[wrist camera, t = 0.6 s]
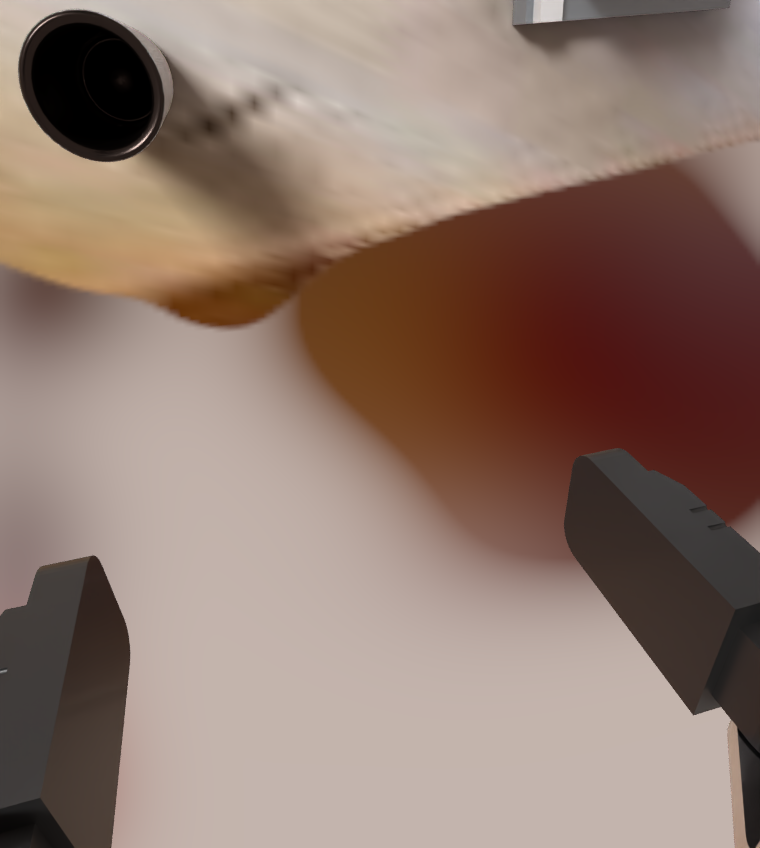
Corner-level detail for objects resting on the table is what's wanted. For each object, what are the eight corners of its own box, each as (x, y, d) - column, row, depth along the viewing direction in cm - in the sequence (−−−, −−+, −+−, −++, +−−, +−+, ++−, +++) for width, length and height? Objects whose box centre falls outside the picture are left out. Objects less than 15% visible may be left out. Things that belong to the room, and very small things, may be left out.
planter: (81, 4, 27) (29, -21, 19) (184, 51, 29) (179, 49, 20) (62, 108, 29) (6, 130, 20) (160, 148, 31) (147, 182, 22)
